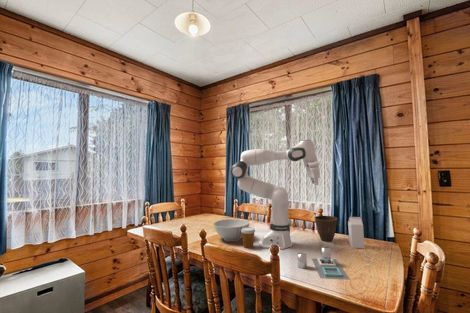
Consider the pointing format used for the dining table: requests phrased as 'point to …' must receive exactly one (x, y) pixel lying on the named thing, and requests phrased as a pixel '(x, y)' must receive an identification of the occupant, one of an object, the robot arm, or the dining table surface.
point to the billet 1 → (302, 260)
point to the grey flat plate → (330, 270)
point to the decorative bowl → (230, 228)
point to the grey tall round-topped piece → (326, 255)
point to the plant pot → (326, 227)
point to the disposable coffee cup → (248, 237)
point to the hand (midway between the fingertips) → (315, 184)
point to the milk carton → (356, 232)
